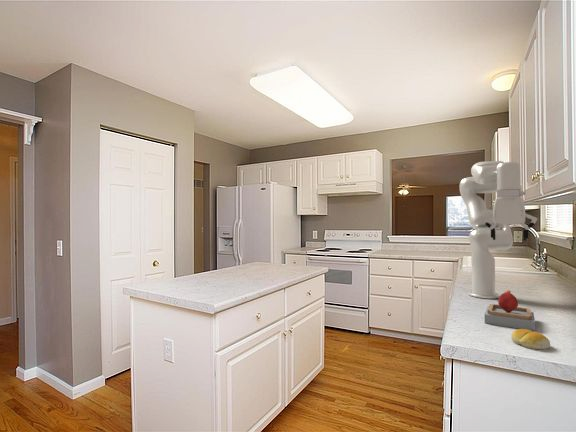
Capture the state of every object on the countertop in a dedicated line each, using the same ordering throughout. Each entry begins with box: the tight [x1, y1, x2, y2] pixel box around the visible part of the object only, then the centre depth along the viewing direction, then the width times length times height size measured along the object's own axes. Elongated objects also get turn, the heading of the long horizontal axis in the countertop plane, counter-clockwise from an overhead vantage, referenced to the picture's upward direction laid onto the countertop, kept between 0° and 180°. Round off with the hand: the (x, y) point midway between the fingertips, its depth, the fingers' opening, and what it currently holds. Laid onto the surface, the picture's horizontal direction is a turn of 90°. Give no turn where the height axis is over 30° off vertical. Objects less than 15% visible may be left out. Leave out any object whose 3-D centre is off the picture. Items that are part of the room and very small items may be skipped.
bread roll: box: [511, 328, 551, 350], centre depth 94 cm, size 8×9×4 cm
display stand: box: [484, 303, 536, 332], centre depth 115 cm, size 14×14×4 cm
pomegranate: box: [497, 289, 519, 313], centre depth 115 cm, size 6×6×8 cm
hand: (509, 240), depth 123 cm, fingers open, 9 cm apart
